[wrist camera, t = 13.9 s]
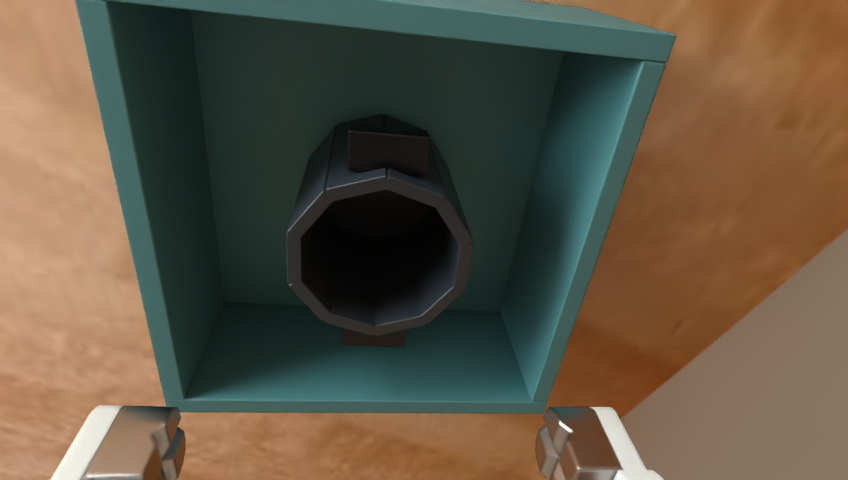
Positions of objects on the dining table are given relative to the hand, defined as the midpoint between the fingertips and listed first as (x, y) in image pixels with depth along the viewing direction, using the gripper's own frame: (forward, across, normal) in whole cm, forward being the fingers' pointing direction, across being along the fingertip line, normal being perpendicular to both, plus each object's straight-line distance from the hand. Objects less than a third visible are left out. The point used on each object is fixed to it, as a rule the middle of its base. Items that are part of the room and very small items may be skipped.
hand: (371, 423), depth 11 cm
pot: (+14, 0, 0) cm, 14 cm away
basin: (+14, 0, 0) cm, 15 cm away
